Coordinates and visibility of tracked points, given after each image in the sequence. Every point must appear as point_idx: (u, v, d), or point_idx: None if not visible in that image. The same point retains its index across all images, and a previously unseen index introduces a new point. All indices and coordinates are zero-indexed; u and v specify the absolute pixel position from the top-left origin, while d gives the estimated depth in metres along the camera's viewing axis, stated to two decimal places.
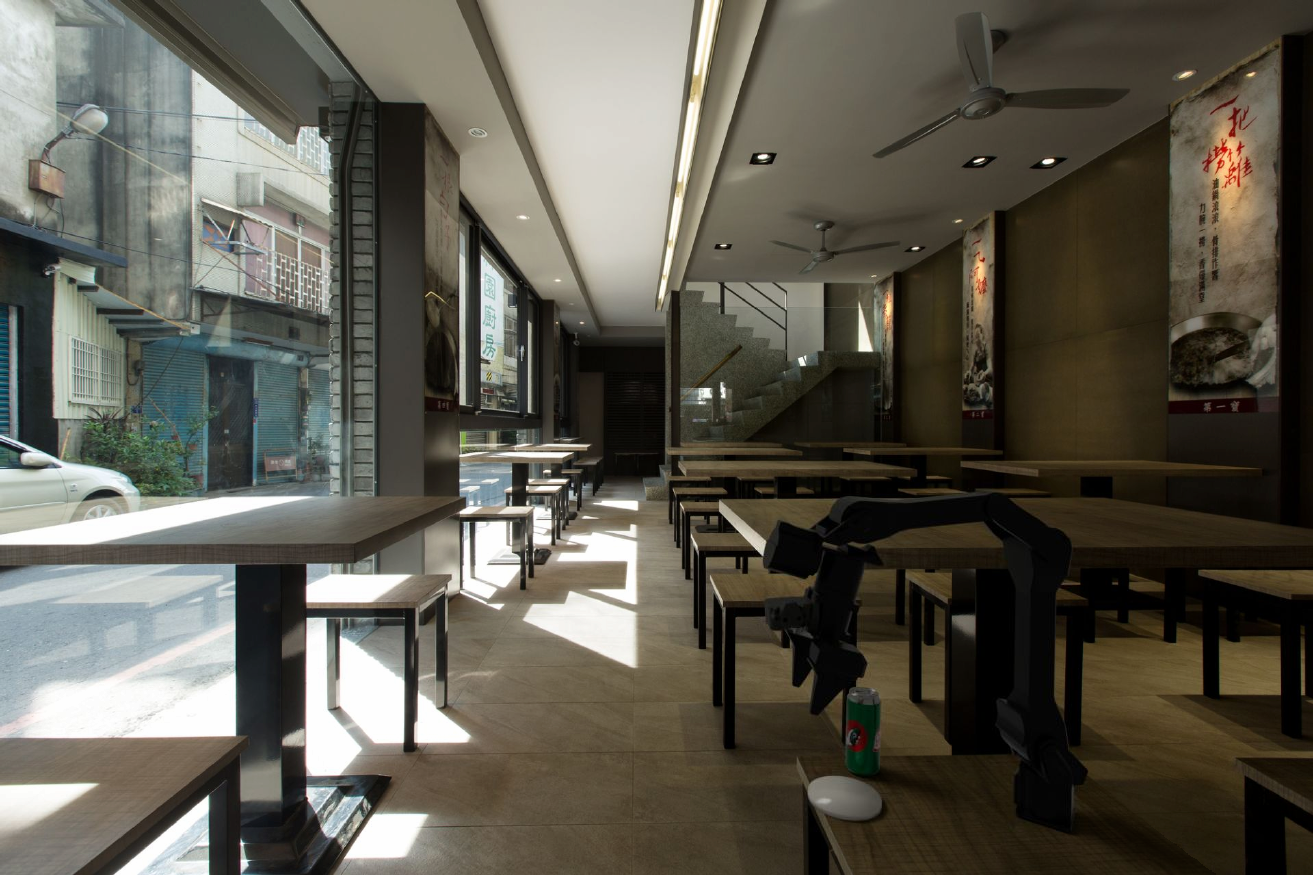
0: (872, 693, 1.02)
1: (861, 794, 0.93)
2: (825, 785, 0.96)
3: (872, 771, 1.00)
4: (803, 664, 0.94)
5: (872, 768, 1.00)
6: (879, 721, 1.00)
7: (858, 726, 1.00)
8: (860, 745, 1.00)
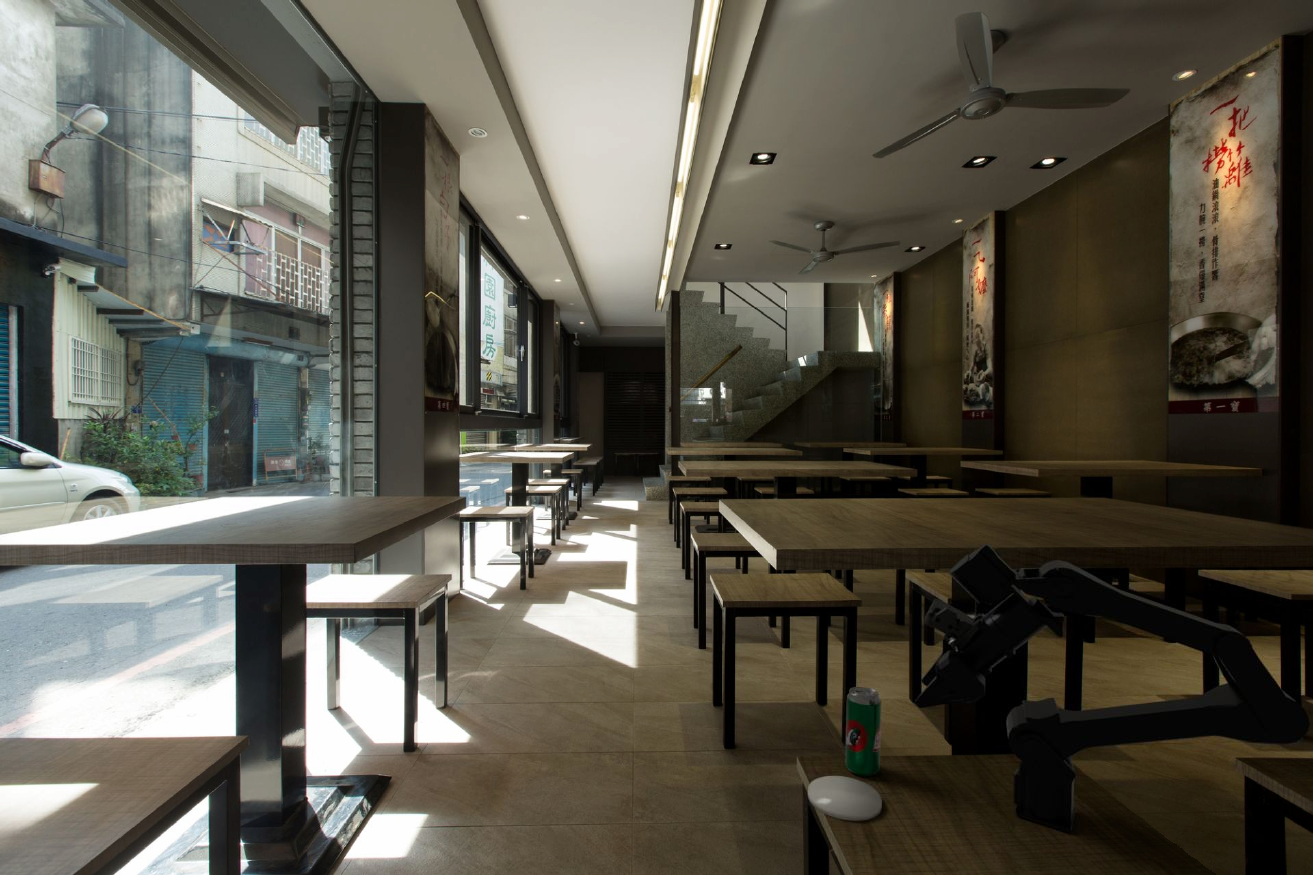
0: (872, 693, 1.02)
1: (861, 794, 0.93)
2: (825, 785, 0.96)
3: (872, 771, 1.00)
4: None
5: (872, 768, 1.00)
6: (879, 721, 1.00)
7: (858, 726, 1.00)
8: (860, 745, 1.00)
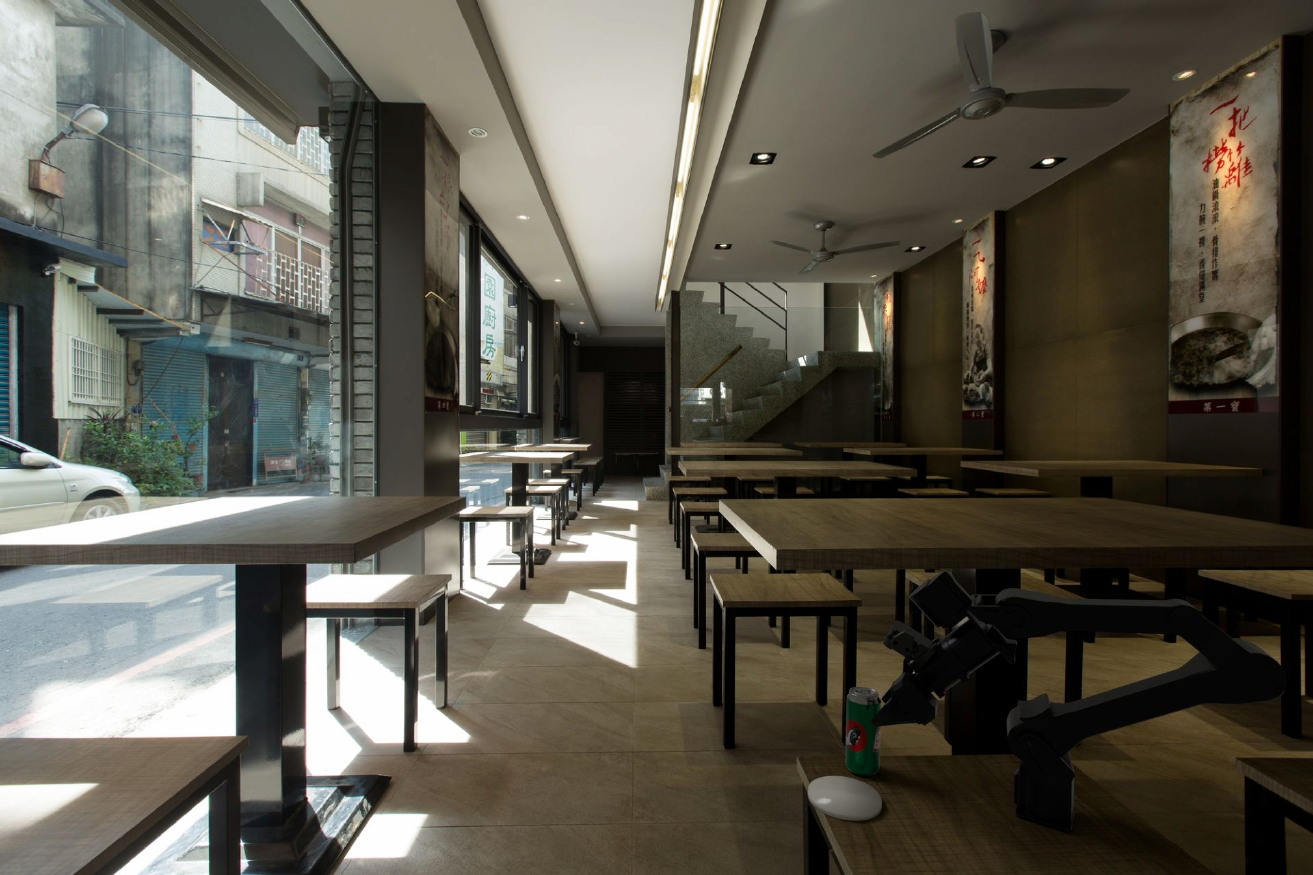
0: (872, 693, 1.02)
1: (861, 794, 0.93)
2: (825, 785, 0.96)
3: (872, 771, 1.00)
4: None
5: (872, 768, 1.00)
6: None
7: (858, 726, 1.00)
8: (860, 745, 1.00)
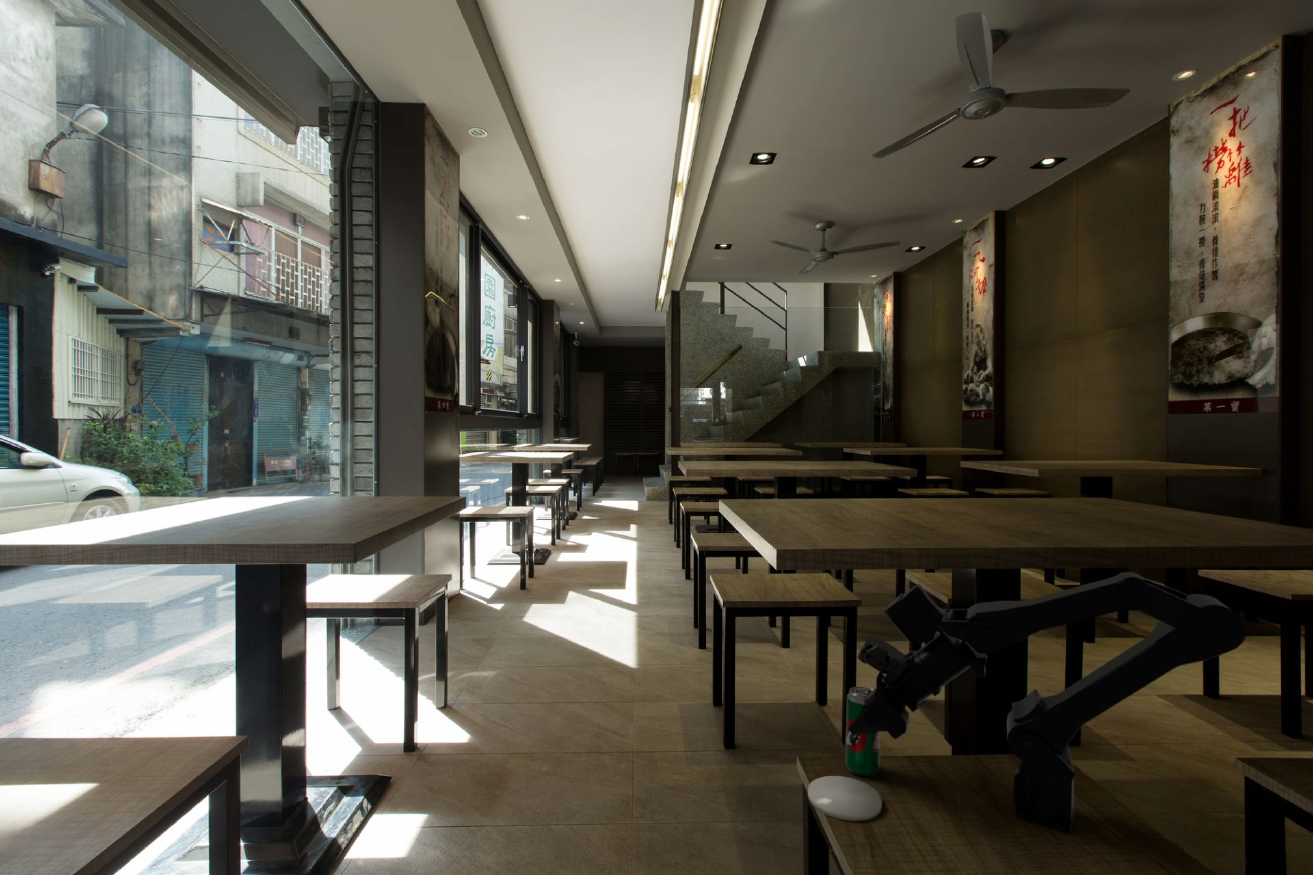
0: None
1: (861, 794, 0.93)
2: (825, 785, 0.96)
3: (872, 771, 1.00)
4: None
5: (872, 768, 1.00)
6: None
7: None
8: (860, 745, 1.00)
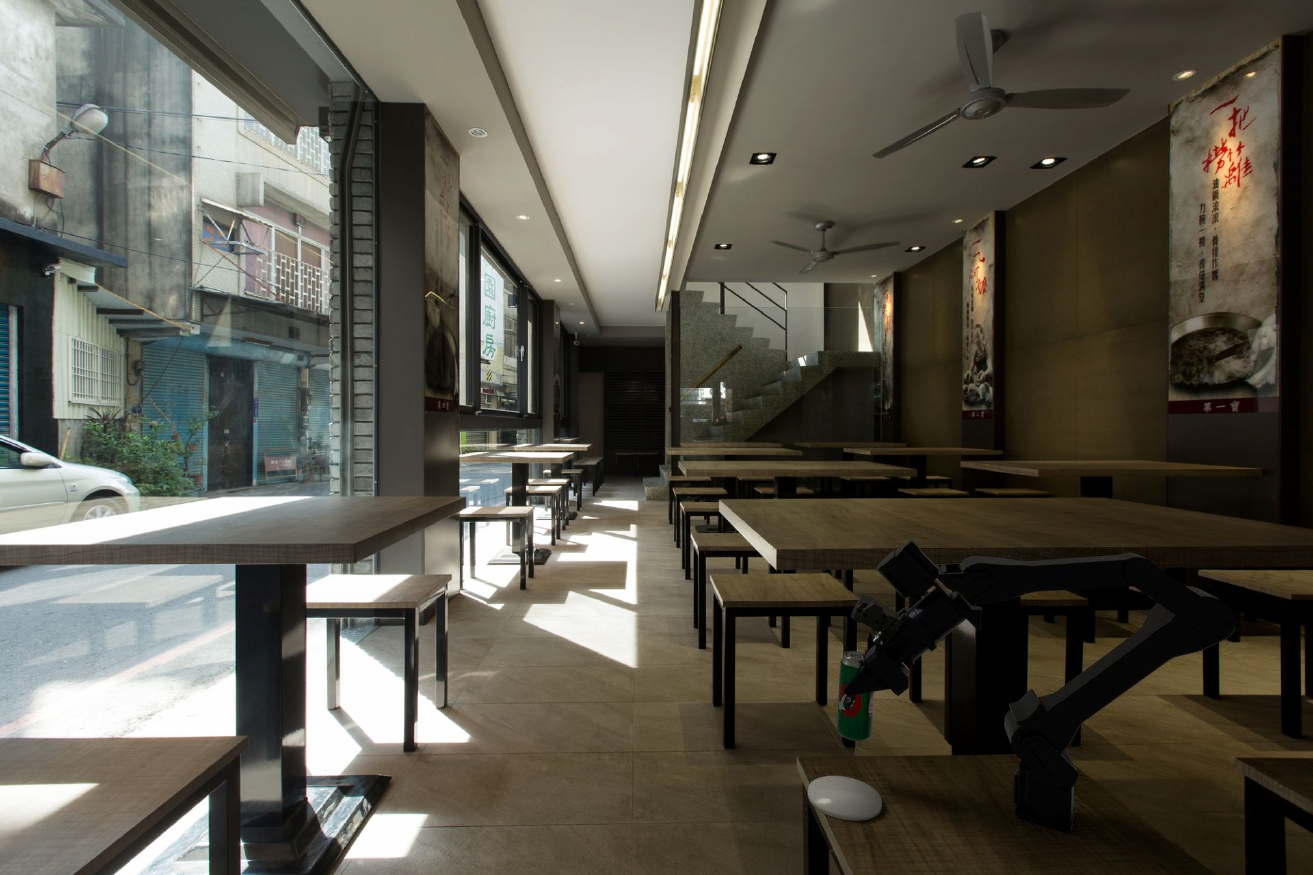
0: None
1: (861, 794, 0.93)
2: (825, 785, 0.96)
3: (865, 736, 0.97)
4: None
5: (865, 732, 0.97)
6: None
7: None
8: (855, 709, 0.97)
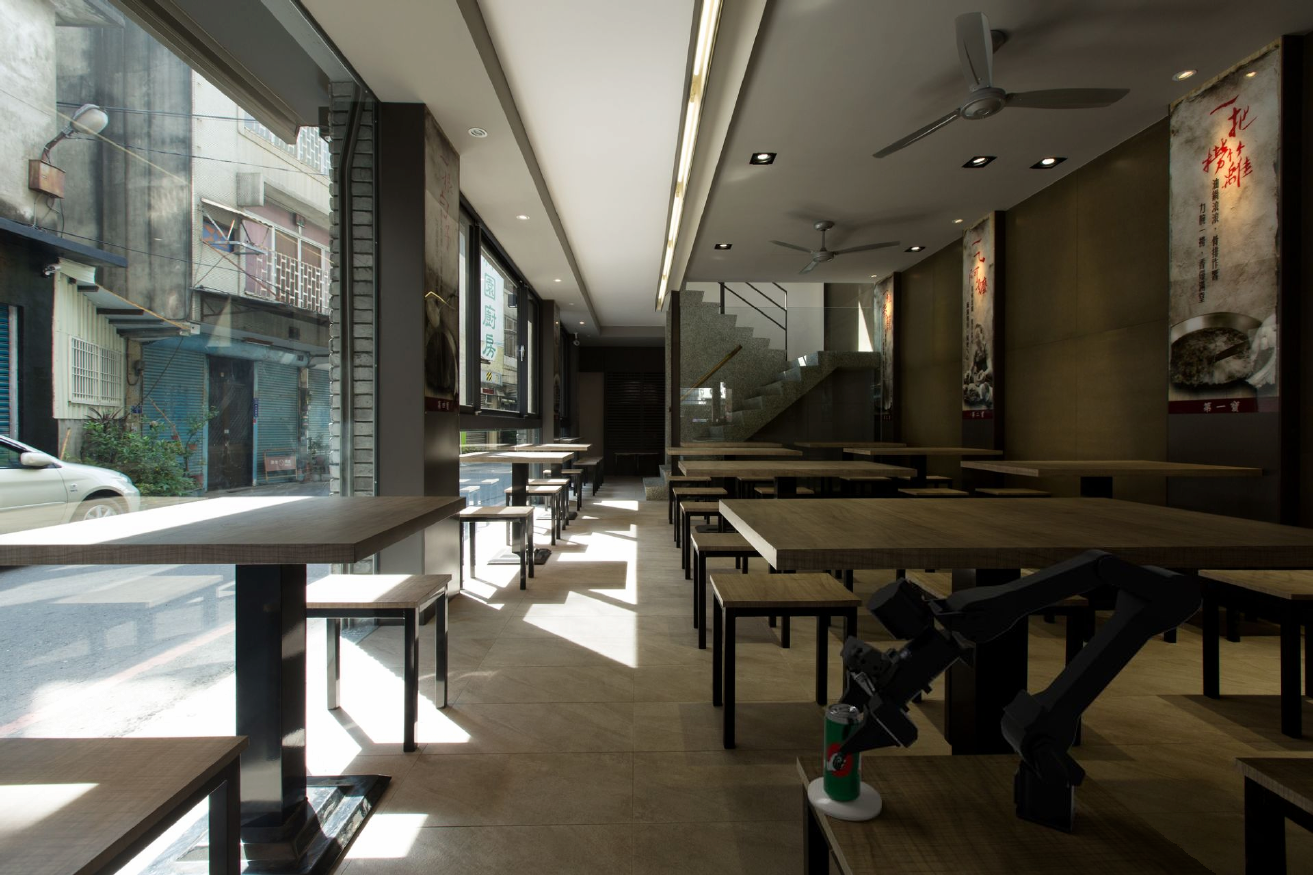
0: (851, 709, 0.94)
1: (861, 794, 0.93)
2: None
3: (857, 795, 0.91)
4: None
5: (857, 791, 0.91)
6: None
7: None
8: (846, 769, 0.91)
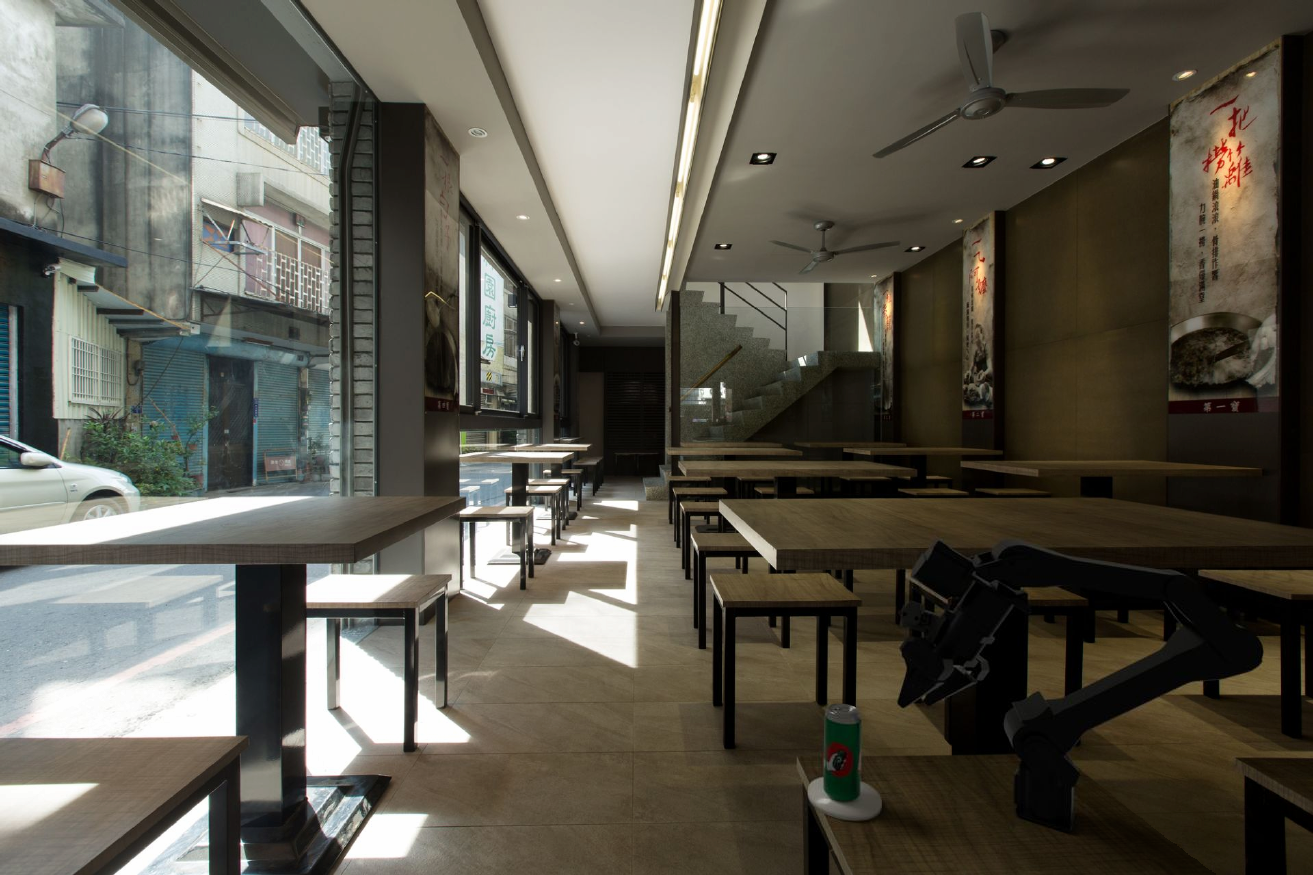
0: (850, 709, 0.94)
1: (861, 794, 0.93)
2: None
3: (857, 795, 0.91)
4: (940, 688, 0.99)
5: (856, 791, 0.91)
6: (861, 739, 0.93)
7: (844, 748, 0.91)
8: (846, 769, 0.91)
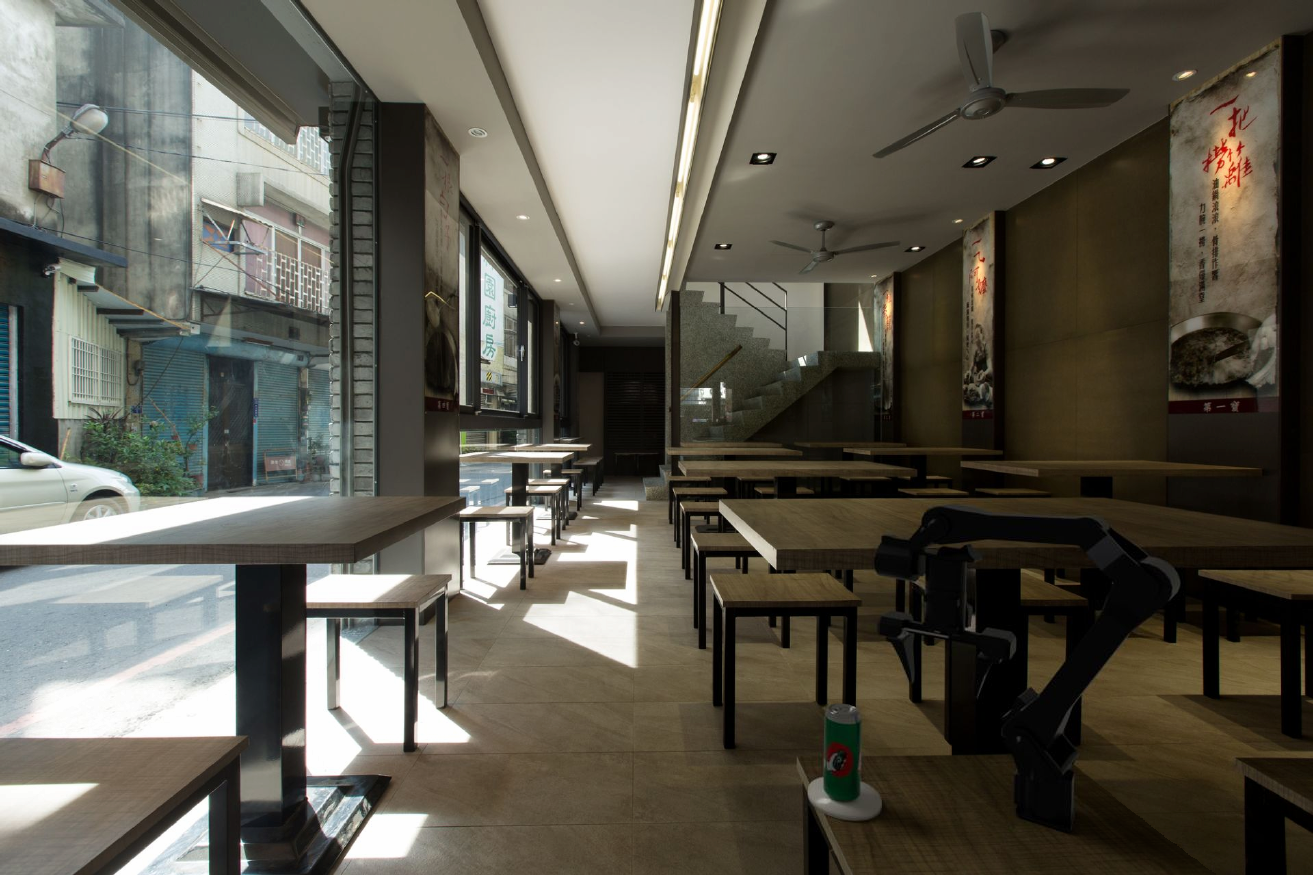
0: (851, 709, 0.94)
1: (861, 794, 0.93)
2: None
3: (857, 795, 0.91)
4: None
5: (856, 791, 0.91)
6: (861, 739, 0.93)
7: (844, 748, 0.91)
8: (846, 769, 0.91)
